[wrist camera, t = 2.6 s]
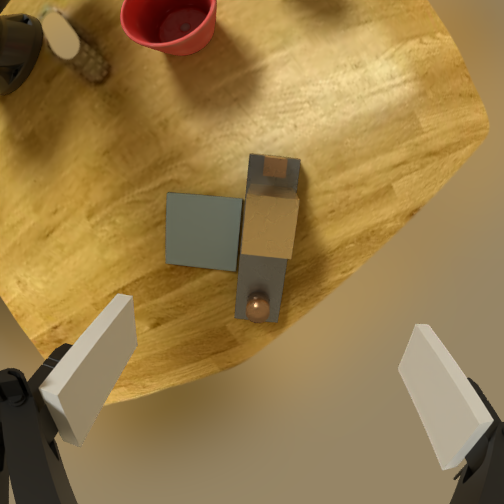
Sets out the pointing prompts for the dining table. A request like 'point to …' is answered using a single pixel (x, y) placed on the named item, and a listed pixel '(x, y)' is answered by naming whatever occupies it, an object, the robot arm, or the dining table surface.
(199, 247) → the mat
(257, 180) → the plane body
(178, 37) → the flower pot
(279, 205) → the tan wooden block
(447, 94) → the dining table surface
